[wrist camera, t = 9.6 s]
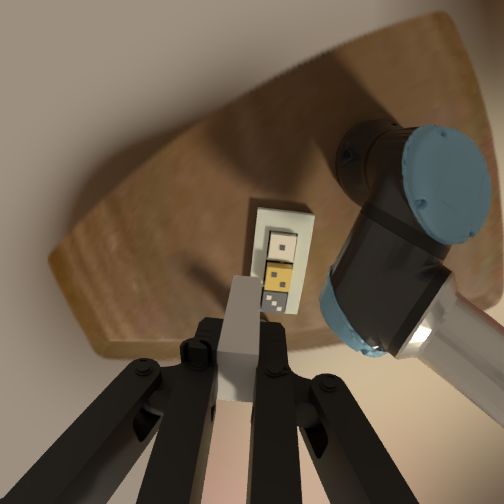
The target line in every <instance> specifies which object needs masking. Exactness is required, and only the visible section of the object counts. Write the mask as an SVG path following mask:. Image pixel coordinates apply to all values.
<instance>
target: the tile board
mask: <svg viewBox="0 0 504 504" xmlns="http://www.w3.org/2000/svg"><path fill="white" fill-rule="evenodd" d="M314 218H315V215H314V214H313V213H305V212H297V211H289V210H280V209H272V208H263V207H258V211H257V221H256V230H255V239H254V248H253V257H252V266H251V277H261V293H262V287H265V281H263V278H264V270H265V262H266V260H274V261H283V262H292V268H293V272H292V278H291V284H290V289H289V292H287V300H286V305H285V311H284V313H288V314H297V312H298V307H299V302H300V297H301V292H302V287H303V281H304V276H305V271H306V265H307V260H308V254H309V248H310V243H311V237H312V231H313V225H314ZM269 230H272V231H281V232H290V233H297V240H296V246H295V252H294V259H293V261H289V260H280V259H271V258H268V254H267V247H268V239H269ZM260 301H261V296H260ZM260 311H261V306H260Z"/></svg>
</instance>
